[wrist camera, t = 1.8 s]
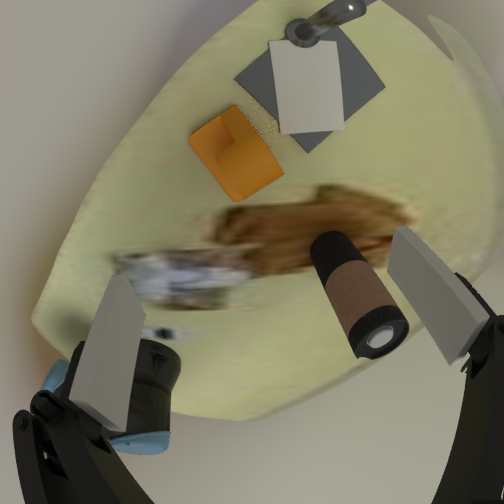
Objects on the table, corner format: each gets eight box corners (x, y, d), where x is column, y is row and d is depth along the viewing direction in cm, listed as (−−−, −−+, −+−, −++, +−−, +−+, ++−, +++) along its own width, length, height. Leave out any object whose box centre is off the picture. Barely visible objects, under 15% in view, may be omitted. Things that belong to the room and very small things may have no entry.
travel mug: (346, 222, 42) (413, 309, 25) (353, 258, 46) (408, 344, 29) (303, 239, 43) (351, 338, 26) (314, 274, 47) (356, 369, 30)
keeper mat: (223, 80, 29) (223, 79, 28) (317, 7, 23) (318, 6, 23) (305, 161, 36) (307, 163, 35) (387, 91, 30) (389, 92, 30)
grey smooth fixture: (302, 54, 27) (354, 35, 15) (278, 30, 25) (316, -4, 13) (336, 29, 25) (399, 7, 13) (314, 6, 23) (367, -30, 11)
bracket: (187, 136, 32) (173, 156, 22) (234, 104, 31) (241, 108, 21) (234, 197, 38) (240, 240, 28) (278, 169, 36) (302, 202, 26)
